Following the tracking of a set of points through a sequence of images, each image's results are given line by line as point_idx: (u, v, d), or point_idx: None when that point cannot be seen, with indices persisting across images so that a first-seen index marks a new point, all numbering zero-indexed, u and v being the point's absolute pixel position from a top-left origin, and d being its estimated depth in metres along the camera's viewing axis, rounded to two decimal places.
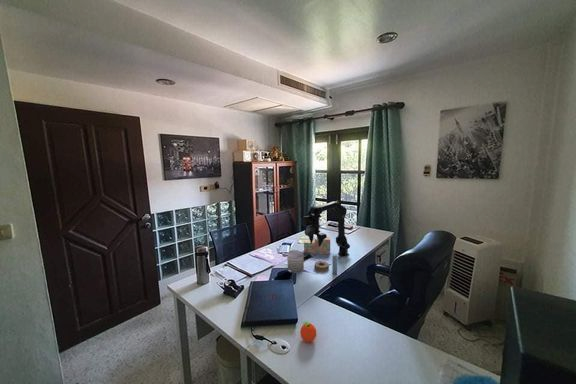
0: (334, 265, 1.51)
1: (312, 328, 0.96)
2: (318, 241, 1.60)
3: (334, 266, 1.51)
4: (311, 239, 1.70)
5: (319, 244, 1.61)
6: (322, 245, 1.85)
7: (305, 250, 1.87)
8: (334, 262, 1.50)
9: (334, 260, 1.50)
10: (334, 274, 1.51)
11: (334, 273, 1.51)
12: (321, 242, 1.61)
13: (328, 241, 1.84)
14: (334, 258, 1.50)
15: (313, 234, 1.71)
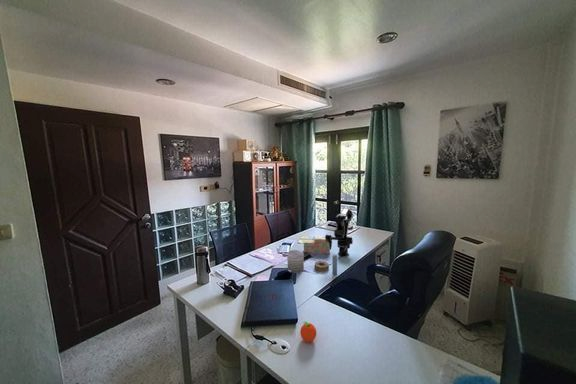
0: (334, 265, 1.51)
1: (312, 328, 0.96)
2: (345, 244, 1.57)
3: (334, 266, 1.51)
4: (331, 245, 1.61)
5: (345, 248, 1.57)
6: (321, 245, 1.85)
7: (305, 250, 1.87)
8: (334, 262, 1.50)
9: (334, 260, 1.50)
10: (334, 274, 1.51)
11: (334, 273, 1.51)
12: (346, 247, 1.58)
13: (327, 241, 1.84)
14: (334, 258, 1.50)
15: (331, 243, 1.65)
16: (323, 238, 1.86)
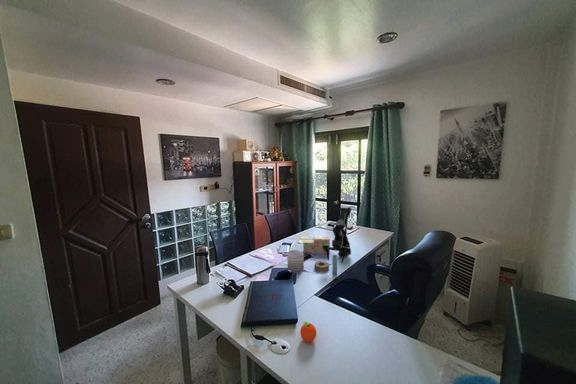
0: (334, 265, 1.51)
1: (312, 328, 0.96)
2: (343, 255, 1.52)
3: (334, 266, 1.51)
4: (328, 256, 1.56)
5: (343, 259, 1.51)
6: (321, 245, 1.85)
7: (304, 250, 1.87)
8: (334, 262, 1.50)
9: (334, 260, 1.50)
10: (334, 274, 1.51)
11: (334, 273, 1.51)
12: (344, 258, 1.53)
13: (327, 241, 1.84)
14: (334, 258, 1.50)
15: (329, 253, 1.59)
16: (323, 238, 1.86)
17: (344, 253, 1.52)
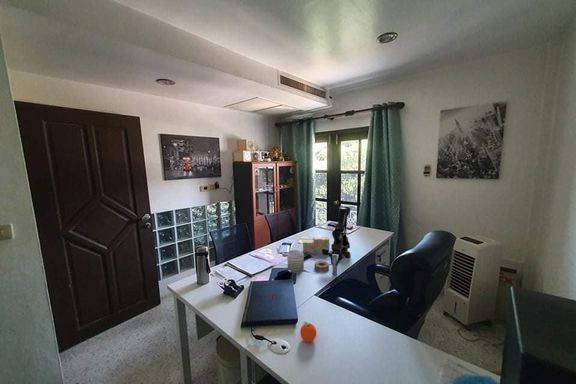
0: (334, 265, 1.51)
1: (312, 328, 0.96)
2: (338, 258, 1.51)
3: (334, 266, 1.51)
4: None
5: (338, 262, 1.50)
6: (321, 245, 1.85)
7: (304, 250, 1.87)
8: (334, 262, 1.50)
9: (334, 260, 1.50)
10: (334, 274, 1.51)
11: (334, 273, 1.51)
12: (339, 261, 1.52)
13: (327, 241, 1.84)
14: (334, 258, 1.50)
15: None
16: (322, 238, 1.86)
17: (339, 256, 1.51)
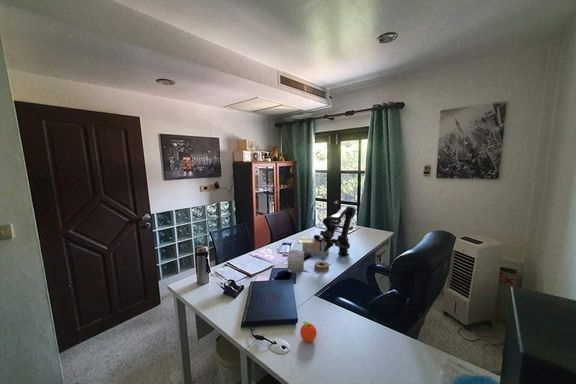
0: (322, 251, 1.57)
1: (312, 328, 0.96)
2: (326, 245, 1.57)
3: (322, 252, 1.57)
4: None
5: (325, 249, 1.56)
6: None
7: (304, 250, 1.87)
8: (322, 248, 1.57)
9: (322, 246, 1.56)
10: (322, 260, 1.58)
11: (322, 259, 1.58)
12: (327, 248, 1.57)
13: None
14: (322, 244, 1.56)
15: None
16: None
17: (327, 243, 1.56)
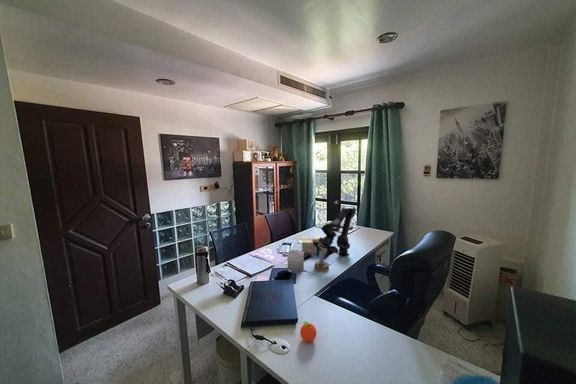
0: (320, 260, 1.59)
1: (312, 328, 0.96)
2: (326, 252, 1.57)
3: (320, 261, 1.59)
4: (318, 253, 1.62)
5: (326, 256, 1.57)
6: None
7: (303, 250, 1.87)
8: (320, 257, 1.59)
9: (320, 255, 1.59)
10: None
11: None
12: (328, 256, 1.58)
13: None
14: (320, 253, 1.58)
15: None
16: None
17: (327, 251, 1.57)
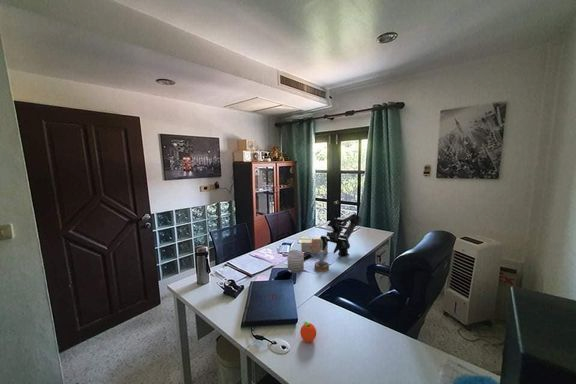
0: (320, 260, 1.59)
1: (312, 328, 0.96)
2: (336, 247, 1.63)
3: (320, 261, 1.59)
4: (324, 246, 1.70)
5: (335, 250, 1.62)
6: (319, 245, 1.85)
7: (302, 250, 1.87)
8: (320, 257, 1.59)
9: (320, 255, 1.59)
10: None
11: None
12: (337, 250, 1.64)
13: None
14: (320, 253, 1.58)
15: (326, 244, 1.73)
16: None
17: (337, 245, 1.63)
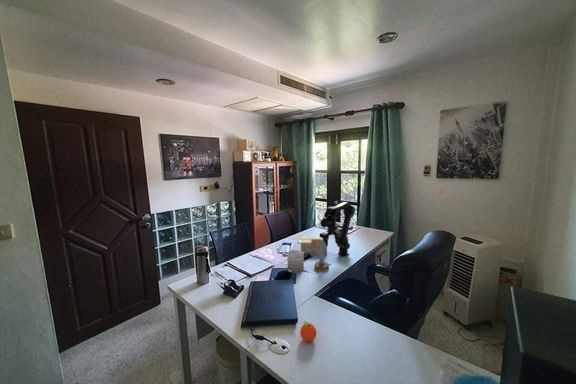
0: (320, 260, 1.59)
1: (312, 328, 0.96)
2: (338, 238, 1.70)
3: (320, 261, 1.59)
4: None
5: (337, 240, 1.71)
6: (318, 245, 1.85)
7: (302, 250, 1.87)
8: (320, 257, 1.59)
9: (320, 255, 1.59)
10: None
11: None
12: None
13: None
14: (320, 253, 1.58)
15: None
16: (320, 238, 1.86)
17: (339, 236, 1.70)
